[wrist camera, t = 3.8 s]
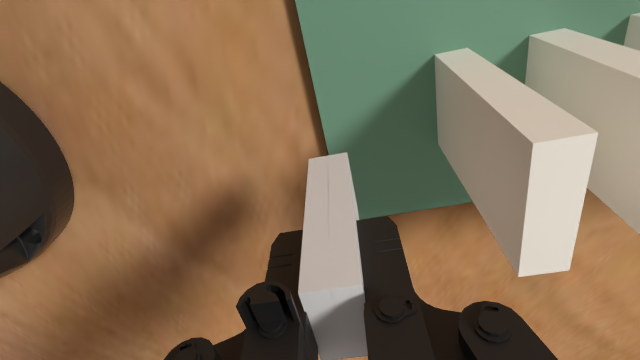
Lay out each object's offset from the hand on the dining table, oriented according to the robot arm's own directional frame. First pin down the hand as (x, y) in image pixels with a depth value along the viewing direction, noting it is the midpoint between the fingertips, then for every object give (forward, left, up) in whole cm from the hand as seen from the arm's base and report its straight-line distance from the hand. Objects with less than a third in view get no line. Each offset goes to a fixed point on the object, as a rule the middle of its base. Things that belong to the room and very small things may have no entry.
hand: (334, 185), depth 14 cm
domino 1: (+6, 0, -6) cm, 9 cm away
